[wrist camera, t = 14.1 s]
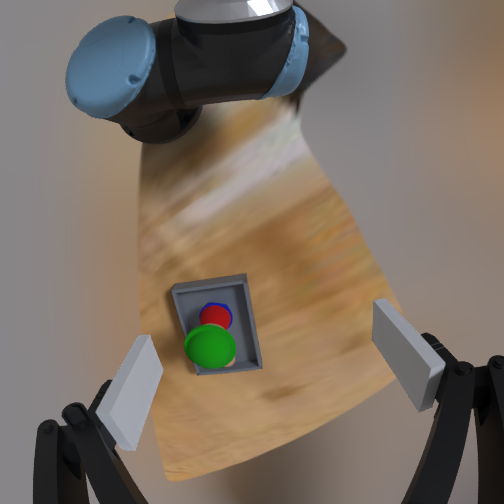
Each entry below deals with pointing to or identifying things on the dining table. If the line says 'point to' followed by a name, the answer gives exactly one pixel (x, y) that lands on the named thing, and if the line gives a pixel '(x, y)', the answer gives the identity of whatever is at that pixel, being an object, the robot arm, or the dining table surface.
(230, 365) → the ball
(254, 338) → the tray
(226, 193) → the dining table surface
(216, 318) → the toy
